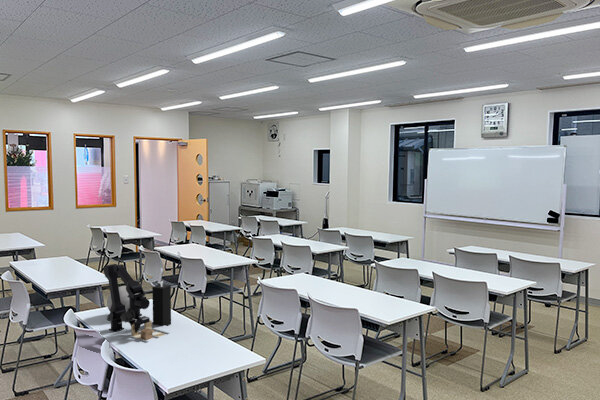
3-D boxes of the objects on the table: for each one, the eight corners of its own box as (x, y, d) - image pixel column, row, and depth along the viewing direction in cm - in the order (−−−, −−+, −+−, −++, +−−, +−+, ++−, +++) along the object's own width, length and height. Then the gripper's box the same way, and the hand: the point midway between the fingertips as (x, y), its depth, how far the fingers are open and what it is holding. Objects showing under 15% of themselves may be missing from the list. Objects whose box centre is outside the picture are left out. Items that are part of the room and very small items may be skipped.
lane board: (129, 339, 257) (129, 336, 257) (151, 331, 270) (151, 327, 270) (146, 345, 249) (146, 341, 249) (169, 336, 263) (169, 332, 262)
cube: (140, 338, 255) (140, 330, 254) (147, 336, 258) (147, 328, 258) (146, 340, 252) (145, 332, 252) (152, 337, 256) (152, 329, 256)
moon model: (138, 320, 289) (137, 289, 288) (104, 322, 284) (104, 291, 283) (141, 310, 308) (141, 281, 307) (110, 312, 304) (109, 283, 303)
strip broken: (143, 333, 264) (143, 322, 264) (150, 331, 268) (150, 319, 268) (158, 338, 257) (158, 326, 257) (165, 335, 262) (165, 324, 261)
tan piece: (130, 337, 259) (130, 325, 258) (138, 334, 263) (137, 322, 263) (145, 341, 252) (145, 329, 251) (153, 339, 256) (153, 327, 256)
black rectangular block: (152, 326, 278) (152, 281, 276) (161, 322, 285) (160, 278, 283) (163, 328, 275) (162, 283, 273) (171, 324, 282) (170, 280, 280)
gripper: (112, 306, 257) (112, 333, 258) (133, 312, 248) (134, 340, 249) (128, 301, 267) (129, 327, 268) (150, 307, 257) (150, 334, 258)
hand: (135, 332), depth 260 cm, fingers closed on tan piece, 2 cm apart
